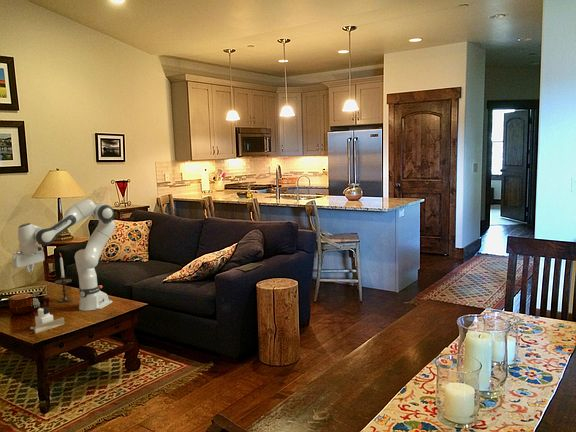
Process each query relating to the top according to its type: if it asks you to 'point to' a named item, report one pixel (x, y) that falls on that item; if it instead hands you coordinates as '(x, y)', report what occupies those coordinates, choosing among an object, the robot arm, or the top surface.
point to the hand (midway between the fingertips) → (30, 271)
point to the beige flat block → (48, 325)
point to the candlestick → (63, 283)
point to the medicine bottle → (43, 316)
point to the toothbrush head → (36, 303)
